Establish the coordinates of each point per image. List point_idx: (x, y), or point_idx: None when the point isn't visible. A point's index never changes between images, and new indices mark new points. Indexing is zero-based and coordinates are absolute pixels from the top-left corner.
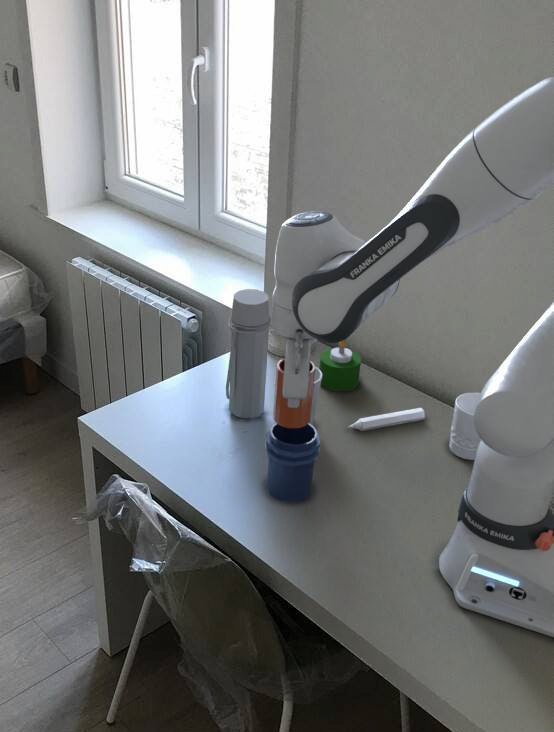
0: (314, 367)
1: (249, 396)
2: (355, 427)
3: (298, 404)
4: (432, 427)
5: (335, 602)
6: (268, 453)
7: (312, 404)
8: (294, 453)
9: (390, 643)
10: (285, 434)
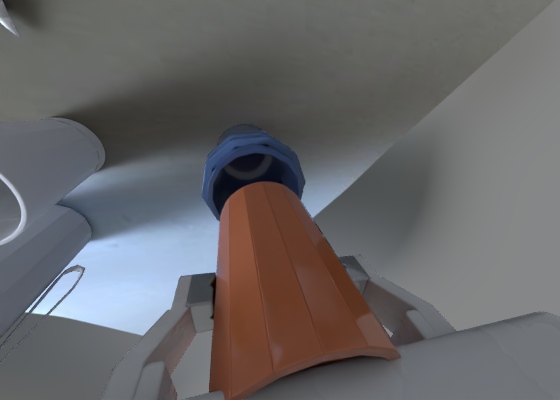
0: (337, 355)
1: (60, 247)
2: (5, 11)
3: (366, 261)
4: None
5: (428, 102)
6: None
7: (32, 136)
8: (302, 183)
9: (492, 44)
10: (218, 195)
